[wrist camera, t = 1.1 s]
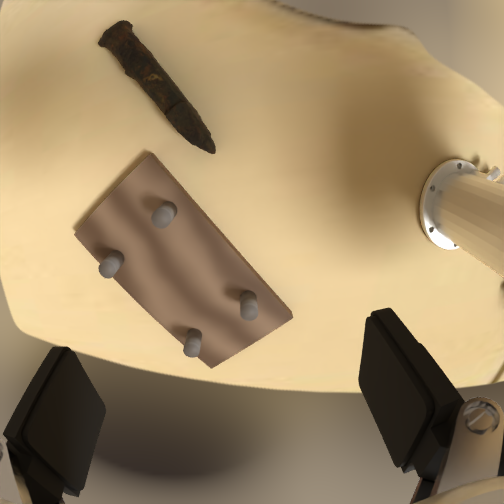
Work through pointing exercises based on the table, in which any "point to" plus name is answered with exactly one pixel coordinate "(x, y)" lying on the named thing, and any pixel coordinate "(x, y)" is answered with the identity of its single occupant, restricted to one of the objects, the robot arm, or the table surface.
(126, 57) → the hand tool
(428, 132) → the table surface
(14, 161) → the table surface
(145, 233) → the tool rack
